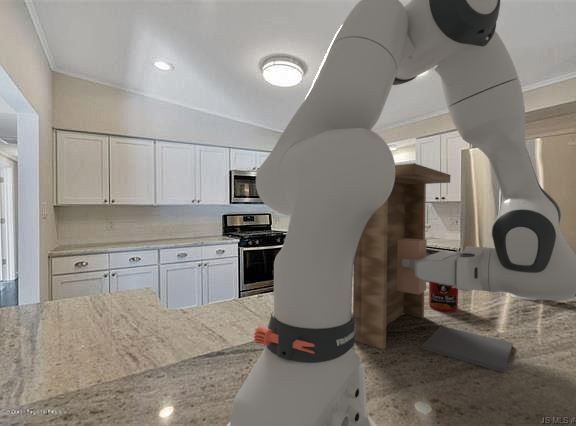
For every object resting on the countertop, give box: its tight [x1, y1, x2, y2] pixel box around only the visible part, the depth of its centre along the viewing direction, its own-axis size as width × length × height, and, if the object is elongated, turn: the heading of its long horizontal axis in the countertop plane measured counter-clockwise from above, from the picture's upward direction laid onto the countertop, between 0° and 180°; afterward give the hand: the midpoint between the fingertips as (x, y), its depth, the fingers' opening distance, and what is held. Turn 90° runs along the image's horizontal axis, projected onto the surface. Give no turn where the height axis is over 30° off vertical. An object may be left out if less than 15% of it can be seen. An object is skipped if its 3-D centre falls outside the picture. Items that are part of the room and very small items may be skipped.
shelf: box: [352, 163, 451, 351], centre depth 73 cm, size 13×26×38 cm, turn 139°
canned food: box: [428, 281, 459, 313], centre depth 91 cm, size 8×8×11 cm
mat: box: [422, 325, 514, 374], centre depth 65 cm, size 14×14×1 cm
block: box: [397, 238, 428, 295], centre depth 72 cm, size 5×5×12 cm
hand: (408, 260), depth 73 cm, fingers closed on block, 5 cm apart
